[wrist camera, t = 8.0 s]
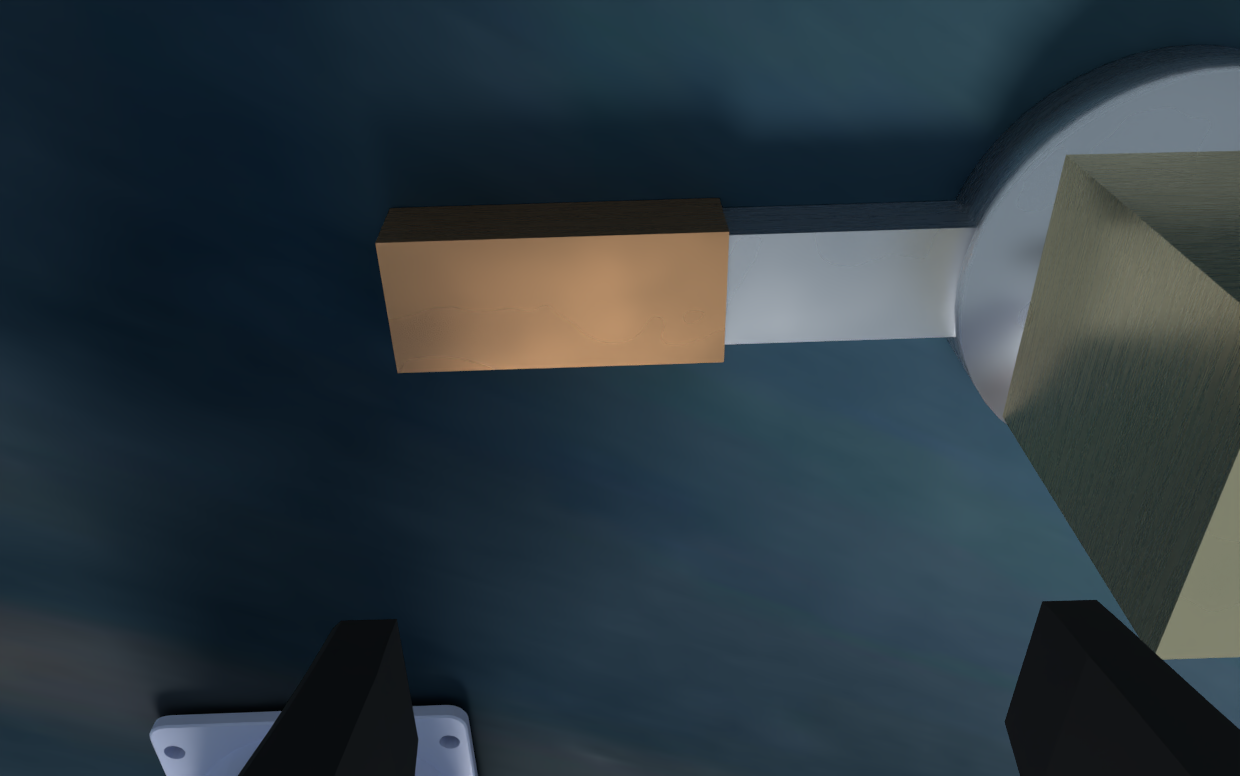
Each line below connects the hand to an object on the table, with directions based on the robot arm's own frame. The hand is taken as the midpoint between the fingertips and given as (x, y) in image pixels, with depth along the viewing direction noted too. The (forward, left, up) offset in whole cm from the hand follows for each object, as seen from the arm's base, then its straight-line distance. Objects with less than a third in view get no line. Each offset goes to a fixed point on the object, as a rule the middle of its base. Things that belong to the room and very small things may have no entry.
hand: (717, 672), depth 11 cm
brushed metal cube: (+1, -9, -8) cm, 12 cm away
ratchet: (+1, -4, -9) cm, 10 cm away
